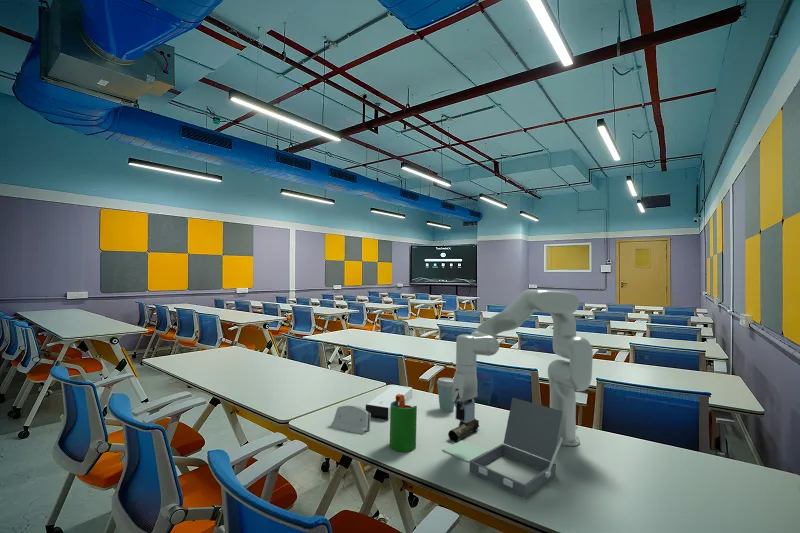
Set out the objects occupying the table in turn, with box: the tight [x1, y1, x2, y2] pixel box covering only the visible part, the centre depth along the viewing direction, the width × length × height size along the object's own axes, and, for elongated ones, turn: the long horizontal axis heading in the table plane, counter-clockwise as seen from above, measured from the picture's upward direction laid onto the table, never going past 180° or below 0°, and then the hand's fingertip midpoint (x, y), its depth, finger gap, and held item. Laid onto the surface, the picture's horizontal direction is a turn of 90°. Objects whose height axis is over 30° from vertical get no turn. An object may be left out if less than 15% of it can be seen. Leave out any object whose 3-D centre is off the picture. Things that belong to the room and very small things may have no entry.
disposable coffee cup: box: [436, 377, 455, 413], centre depth 181 cm, size 11×11×15 cm
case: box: [469, 438, 563, 499], centre depth 124 cm, size 24×21×12 cm
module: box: [455, 400, 476, 423], centre depth 138 cm, size 5×5×6 cm
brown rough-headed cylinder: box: [447, 418, 480, 443], centre depth 154 cm, size 18×7×6 cm, turn 137°
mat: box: [441, 439, 488, 464], centre depth 138 cm, size 12×12×1 cm
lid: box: [503, 397, 563, 464], centre depth 132 cm, size 17×19×1 cm
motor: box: [389, 394, 418, 453], centre depth 141 cm, size 10×9×20 cm
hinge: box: [330, 404, 371, 435], centre depth 158 cm, size 17×5×10 cm, turn 66°
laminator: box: [365, 384, 413, 421], centre depth 184 cm, size 34×12×6 cm, turn 160°
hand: (465, 417), depth 138 cm, fingers closed on module, 5 cm apart
